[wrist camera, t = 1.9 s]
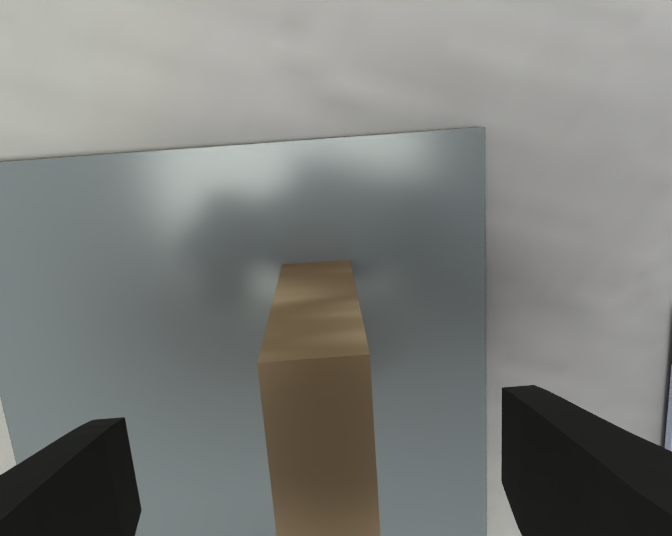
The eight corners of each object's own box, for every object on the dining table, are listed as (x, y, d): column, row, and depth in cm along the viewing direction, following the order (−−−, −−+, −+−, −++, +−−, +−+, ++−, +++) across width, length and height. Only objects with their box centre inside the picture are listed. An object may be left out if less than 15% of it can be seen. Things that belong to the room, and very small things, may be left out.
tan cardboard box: (349, 259, 17) (369, 353, 10) (358, 383, 18) (380, 545, 11) (281, 264, 17) (257, 363, 10) (293, 388, 18) (278, 552, 11)
